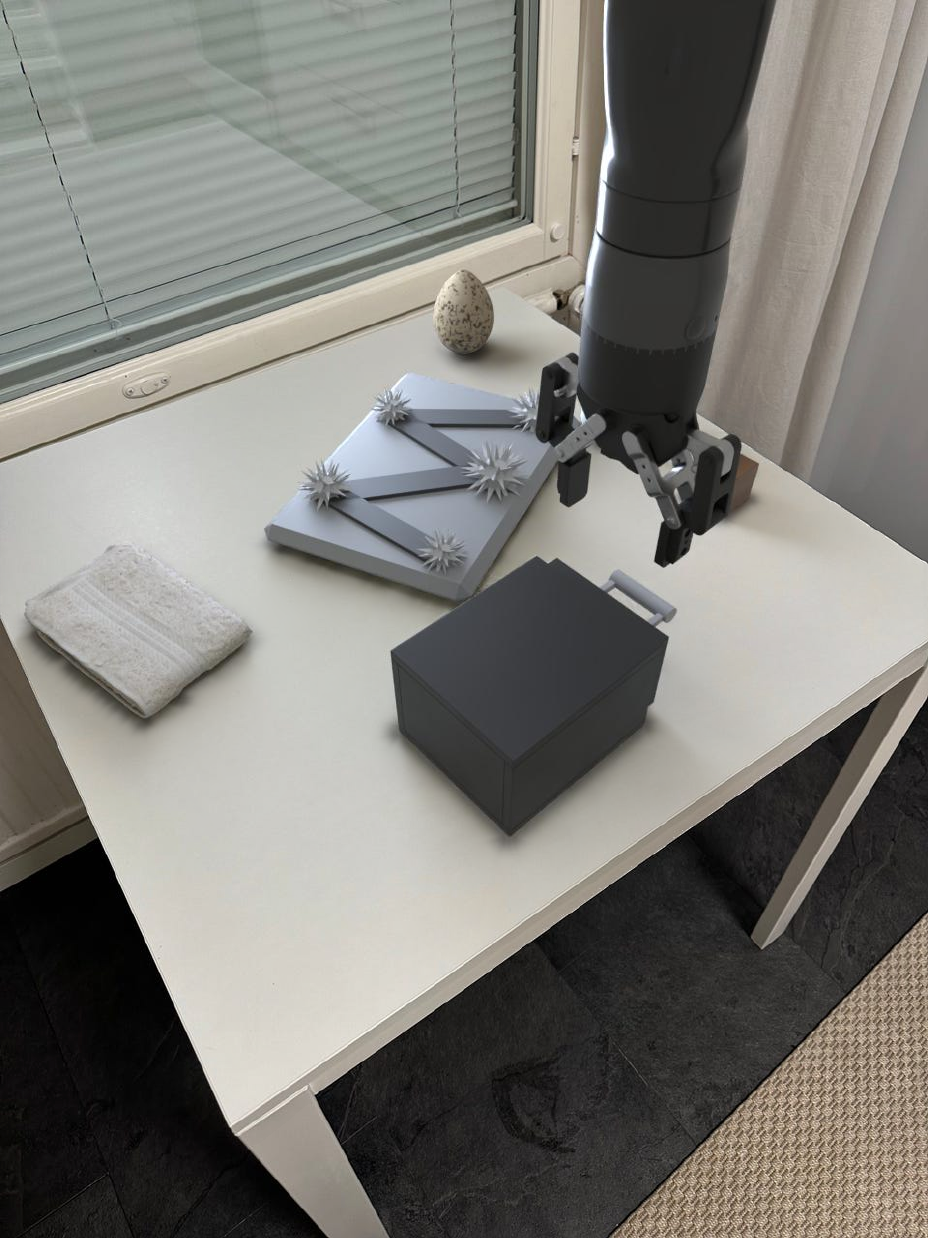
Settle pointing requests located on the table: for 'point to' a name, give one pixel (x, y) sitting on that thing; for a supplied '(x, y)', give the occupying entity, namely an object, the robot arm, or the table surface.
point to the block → (743, 481)
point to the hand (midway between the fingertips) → (618, 529)
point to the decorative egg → (463, 313)
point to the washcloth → (135, 627)
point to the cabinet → (523, 690)
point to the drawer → (640, 596)
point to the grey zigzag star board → (423, 487)
